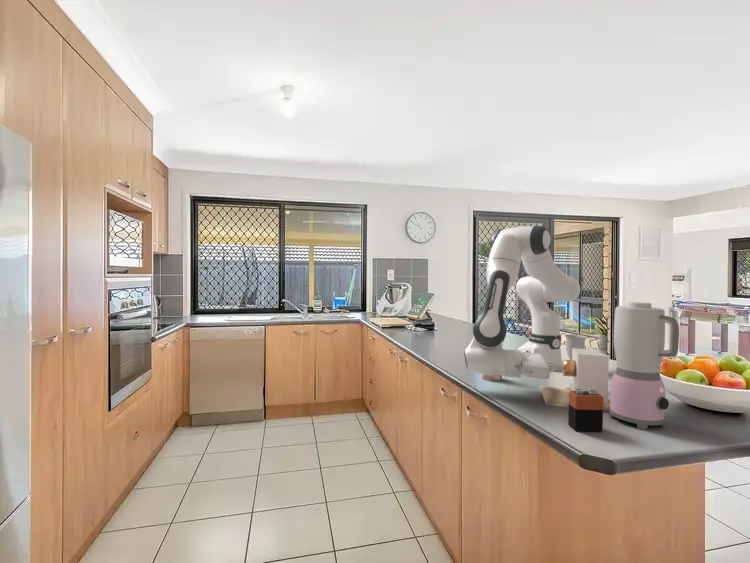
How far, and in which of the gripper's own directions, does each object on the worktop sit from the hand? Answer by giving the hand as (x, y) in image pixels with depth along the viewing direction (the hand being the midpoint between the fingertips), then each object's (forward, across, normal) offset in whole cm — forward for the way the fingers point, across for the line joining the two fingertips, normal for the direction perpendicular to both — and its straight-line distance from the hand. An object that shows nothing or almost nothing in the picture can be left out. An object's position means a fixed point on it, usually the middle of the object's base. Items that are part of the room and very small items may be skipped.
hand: (561, 367), depth 121 cm
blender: (+18, -14, +10) cm, 25 cm away
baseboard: (+4, 0, +10) cm, 11 cm away
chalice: (+6, +16, +10) cm, 20 cm away
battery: (+2, -24, +10) cm, 26 cm away
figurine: (-21, +17, +10) cm, 29 cm away
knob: (+5, 0, +3) cm, 6 cm away
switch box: (+8, 0, +9) cm, 12 cm away
